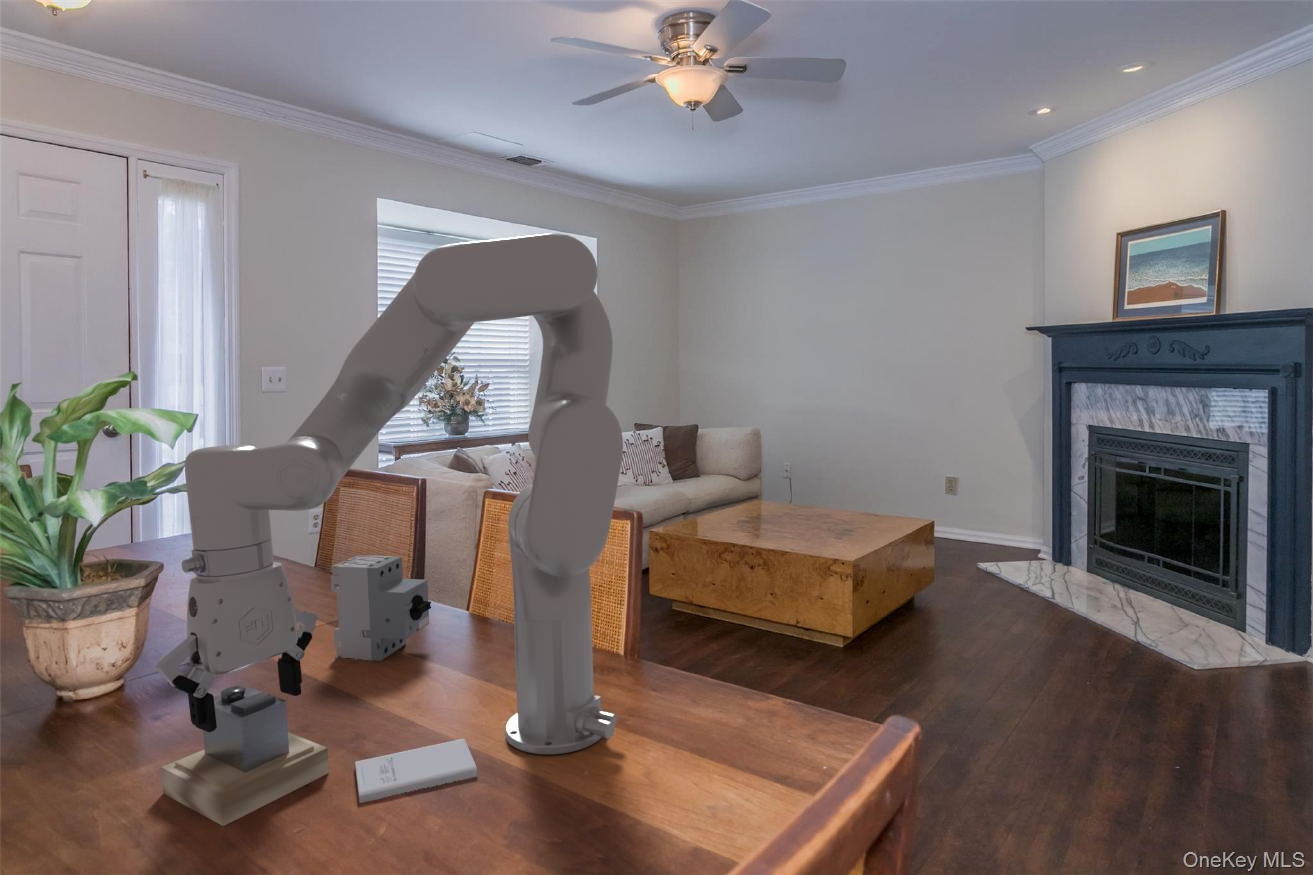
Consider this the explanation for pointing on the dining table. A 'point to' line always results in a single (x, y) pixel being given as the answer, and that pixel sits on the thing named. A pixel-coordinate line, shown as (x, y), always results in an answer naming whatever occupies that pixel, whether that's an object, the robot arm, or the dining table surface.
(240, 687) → the housing
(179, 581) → the dining table surface
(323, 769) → the stand
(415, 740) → the dining table surface
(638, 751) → the dining table surface
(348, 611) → the circuit breaker
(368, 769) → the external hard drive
